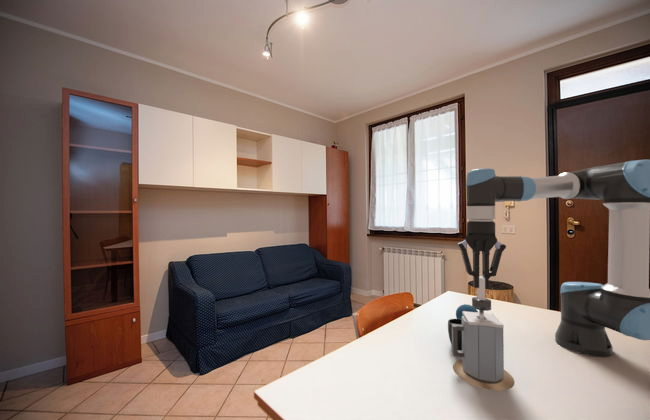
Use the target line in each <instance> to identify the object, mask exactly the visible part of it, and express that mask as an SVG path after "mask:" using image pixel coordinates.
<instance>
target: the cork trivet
mask: <svg viewBox="0 0 650 420" xmlns="http://www.w3.org/2000/svg"><path fill="white" fill-rule="evenodd" d="M452 371H453V372H454V373H455V375H456V376H457V377H459V378H460V379H461V380H463V381H464V382H466V383H468V384H470V385H472V386H475V387H477V388H480V389H485V390H489V391H498V392H501V391H507V390H511V389H512V388H513V387H514V386H515V380H514V376H513V375H512V374H510V373H509V372H508V371H507V370H506V369H504V377H503V378H502V381H501V382H499V383H496V384H489V383H483V382H480V381H477V380H474V379H472V378H471V377H469V376H468V375H467V374H466V373H465V372H464V371H463V366H462V358H461V359H457V360H456V361H455V362H453V364H452Z"/></svg>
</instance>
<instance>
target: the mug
mask: <svg viewBox="0 0 650 420" xmlns="http://www.w3.org/2000/svg"><path fill="white" fill-rule="evenodd" d="M452 324H460V325H462V319H457V318H450V319H448V321H447V331H448V337H449V342H450V345H451V346H452ZM457 341H458V350H461V351H462V331H461V330H457Z"/></svg>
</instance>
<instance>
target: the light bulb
mask: <svg viewBox="0 0 650 420" xmlns="http://www.w3.org/2000/svg"><path fill="white" fill-rule="evenodd" d="M462 311H467V312H478V313H479V310H478V309H475V308H473V307H472V304H471V305H470V304H465V303H464V304H461V305H459V306H457V309H456V311H455V317H456V318H455V319H462V316H463V314H462Z"/></svg>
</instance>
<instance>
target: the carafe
mask: <svg viewBox="0 0 650 420" xmlns="http://www.w3.org/2000/svg"><path fill="white" fill-rule="evenodd" d="M462 314H463V316H462V325H460V324H452V345H451V353H452V357H456V358H461V359H462V366H463V371H464V372H465V373H466V374H467V375H468V376H469V377H471V378H472V379H474V380H477V381H480V382H483V383H489V384H496V383H499V382H501V381H502V378H503V377H504V370H505V369H504V368H505V362H504V361H505V360H504V353H505V352H504V346H505V345H504V324H503V323H502V321H500V319H499V318H498V317H497V316H496V315H495V314H494V313H488V312H487V313H486V312H484V319H479V311H478V312H467V311H462ZM457 330H461V331H462V351H461V350H458V341H457Z"/></svg>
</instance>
